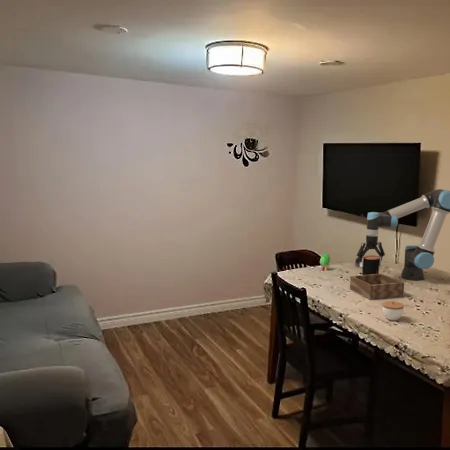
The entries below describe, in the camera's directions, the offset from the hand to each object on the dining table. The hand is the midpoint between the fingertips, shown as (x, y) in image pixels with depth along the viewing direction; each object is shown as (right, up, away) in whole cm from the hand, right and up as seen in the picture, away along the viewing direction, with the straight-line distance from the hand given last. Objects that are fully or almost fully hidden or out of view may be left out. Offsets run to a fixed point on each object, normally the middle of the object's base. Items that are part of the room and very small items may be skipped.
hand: (370, 266), depth 308 cm
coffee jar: (0, -11, +2) cm, 12 cm away
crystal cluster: (+10, -5, +48) cm, 50 cm away
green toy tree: (-24, -6, +37) cm, 45 cm away
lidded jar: (-10, -22, -67) cm, 71 cm away
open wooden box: (-3, -15, -22) cm, 27 cm away
